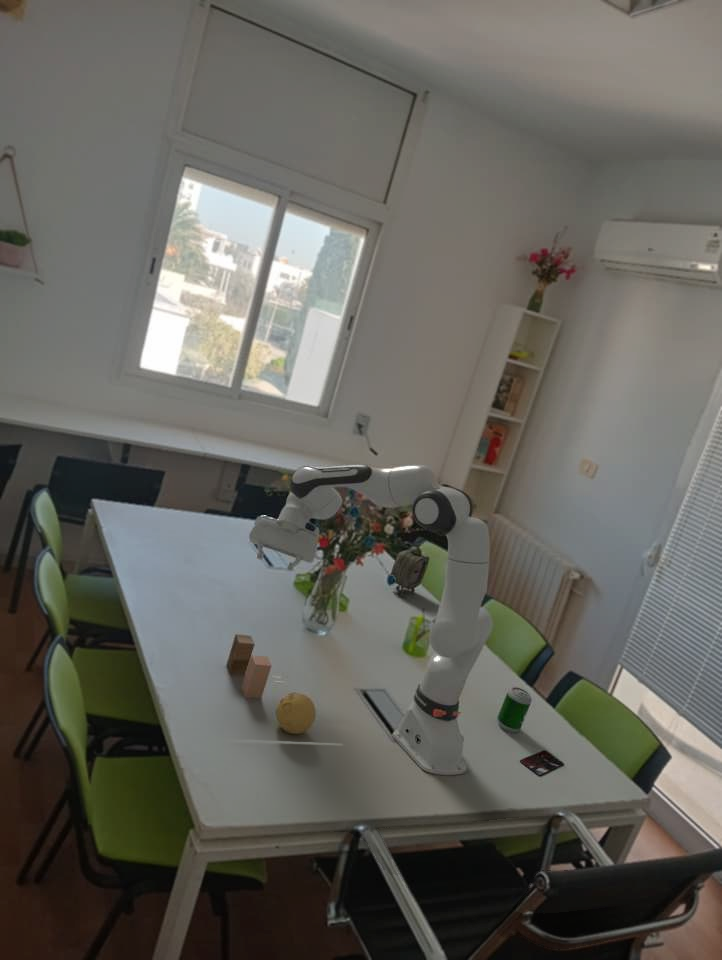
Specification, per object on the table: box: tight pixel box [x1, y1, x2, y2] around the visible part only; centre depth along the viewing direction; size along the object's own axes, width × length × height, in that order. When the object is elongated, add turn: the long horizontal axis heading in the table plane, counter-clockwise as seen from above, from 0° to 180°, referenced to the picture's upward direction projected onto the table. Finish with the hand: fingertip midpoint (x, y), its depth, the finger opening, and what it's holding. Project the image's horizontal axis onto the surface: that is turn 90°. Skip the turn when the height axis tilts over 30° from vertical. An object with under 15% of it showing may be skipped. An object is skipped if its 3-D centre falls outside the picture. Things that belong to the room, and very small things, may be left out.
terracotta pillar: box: [241, 654, 272, 700], centre depth 198 cm, size 4×4×10 cm
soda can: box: [496, 686, 533, 733], centre depth 226 cm, size 8×8×12 cm
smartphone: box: [519, 749, 565, 777], centre depth 212 cm, size 7×1×15 cm
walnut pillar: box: [225, 634, 255, 677], centre depth 207 cm, size 4×4×10 cm
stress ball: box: [275, 692, 316, 735], centre depth 188 cm, size 10×10×10 cm
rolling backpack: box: [390, 537, 430, 597], centre depth 310 cm, size 14×9×25 cm, turn 148°
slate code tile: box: [271, 675, 285, 684], centre depth 210 cm, size 8×8×1 cm
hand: (274, 563), depth 214 cm, fingers open, 8 cm apart
